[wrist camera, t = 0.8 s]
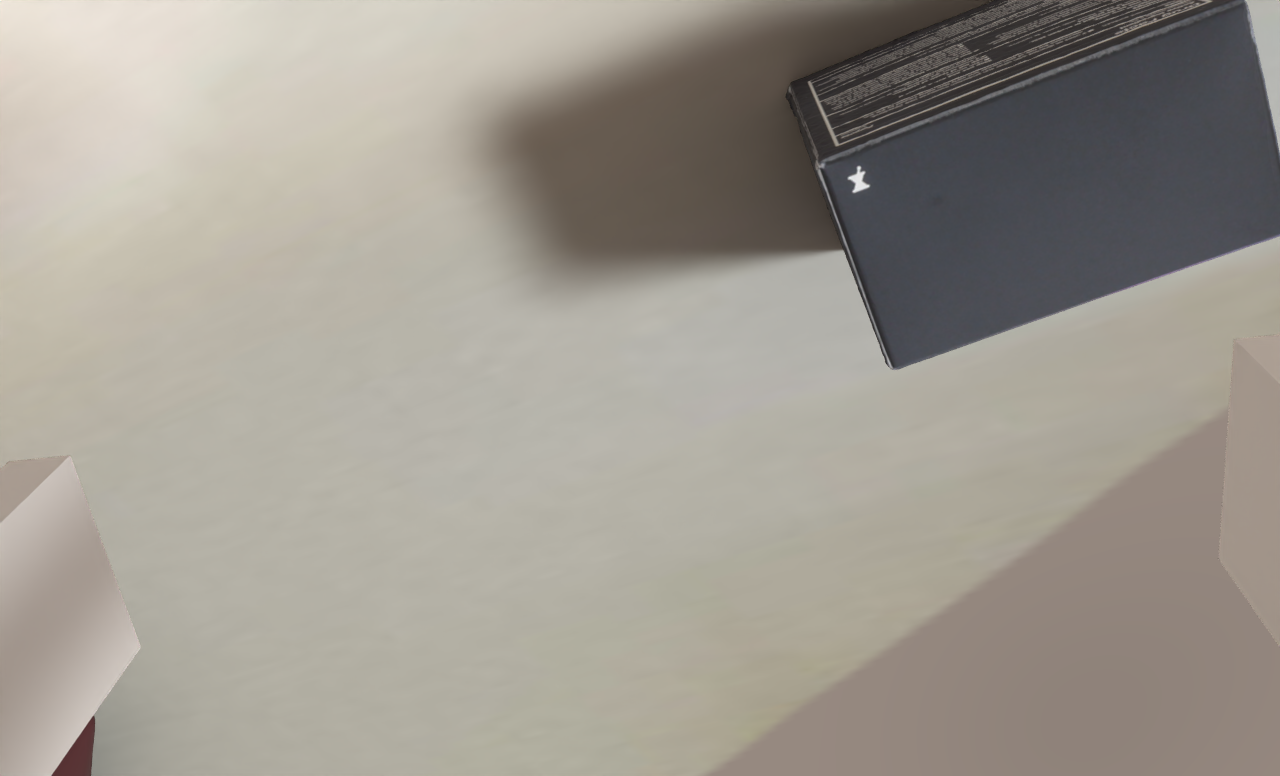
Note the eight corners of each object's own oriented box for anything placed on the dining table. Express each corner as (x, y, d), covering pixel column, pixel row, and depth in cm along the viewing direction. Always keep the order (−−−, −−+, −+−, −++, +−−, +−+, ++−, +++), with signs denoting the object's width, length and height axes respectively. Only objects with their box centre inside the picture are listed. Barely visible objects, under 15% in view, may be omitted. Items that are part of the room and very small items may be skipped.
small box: (846, 263, 41) (886, 388, 32) (780, 82, 39) (801, 157, 29) (1161, 147, 39) (1305, 243, 30) (1111, -52, 37) (1249, -17, 27)
